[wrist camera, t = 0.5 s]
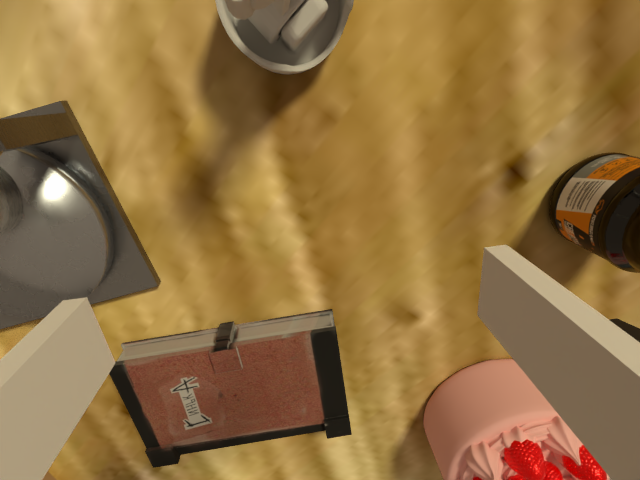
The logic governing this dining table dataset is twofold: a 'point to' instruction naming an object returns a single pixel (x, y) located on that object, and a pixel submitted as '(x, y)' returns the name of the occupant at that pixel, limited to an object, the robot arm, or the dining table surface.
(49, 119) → the stand
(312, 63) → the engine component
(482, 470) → the cake
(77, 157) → the base plate
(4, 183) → the cover
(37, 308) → the turntable
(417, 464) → the dining table surface
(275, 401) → the book
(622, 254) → the supplement container
